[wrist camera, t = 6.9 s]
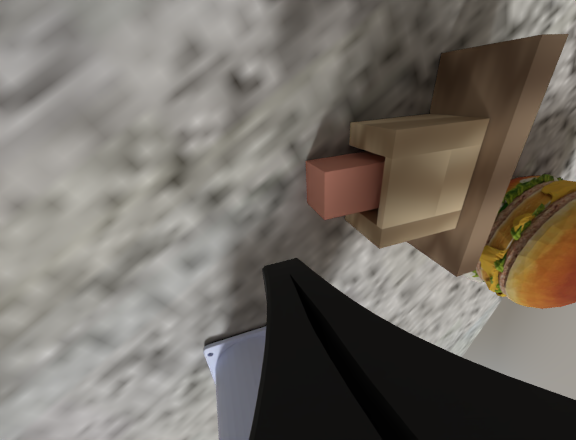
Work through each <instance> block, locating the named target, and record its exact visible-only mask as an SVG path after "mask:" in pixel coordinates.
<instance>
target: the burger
mask: <svg viewBox="0 0 576 440" xmlns="http://www.w3.org/2000/svg"><path fill="white" fill-rule="evenodd" d="M462 276H464V277H466V278H468V279H470V280H472V281H474V282H478V283H481V282H482V281H483V282H485V283H486V284H487V286H488V288H489V290H491V291H493V292H496V294H497V295H498V296H503V297H504V296H507V298H509V299H510V300H512V301H513V302H515V303H517V304H520V305H523V306H527V307H535V308H542V309H543V308H552V307H561V306H565V305H568V304H572V303H575V302H576V182H573V181H566V180H563V178H562V179H561V177H559V178H556V177H555V176H553V175H551V174H550V175H548V174H542V175H541V176H527V177H519V178H515V179H512V180H511V181H510V183H509V186H508V188H507V191H506V193H505V196H504V198H503V201H502V204H501V206H500V209H499V211H498V214H497V216H496V219H495V221H494V224H493V226H492V229H491V231H490V234H489V236H488V239H487V241H486V244H485V246H484V249H483V252H482V254H481V257H480V259H479V262H478V264H477V267H476V269H475V271H472V272H469V273H466V274H463V275H462Z"/></svg>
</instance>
